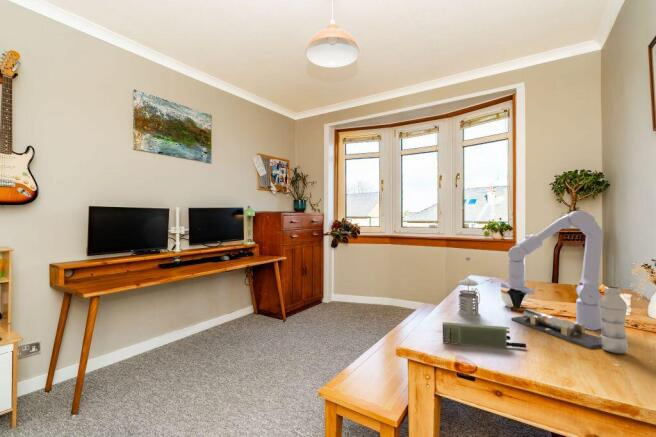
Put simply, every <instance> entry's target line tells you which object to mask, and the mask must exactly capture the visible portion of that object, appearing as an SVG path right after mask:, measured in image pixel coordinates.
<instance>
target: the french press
mask: <svg viewBox="0 0 656 437" xmlns="http://www.w3.org/2000/svg"><path fill="white" fill-rule="evenodd" d="M470 260H471V257H469V256H466V257H465V261H470ZM457 283H458V285H462V286H467V289H462V290H459V294H458V300H459V301H458V309H459V310H458V311H457V312H456V315H457V316H459V317H462V318H466V319H467V318H469V319H479V318H481V317H482V314H481V313H479V305H480V301H481V295H480V291H479V289H477V287H475V286H478V285H479V282H477V281H475V280H473V279H470V278H466V279H465V278H464V279H461V280H459V281H458V282H457ZM471 286H472V287H475V288H471V290H469V287H471Z"/></svg>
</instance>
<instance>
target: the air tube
mask: <svg viewBox="0 0 656 437" xmlns="http://www.w3.org/2000/svg"><path fill="white" fill-rule="evenodd" d="M522 314H523V315H522V316H524V317H525V318H526V319H529V320H530V316H533V315H534V316H537V317H538V323H541V324H544V325H546V326H549V327H552V328H555V329H558V330H561V326H564V325H565V326H568V327H570V334H574V333H575V332H576V331H577V325H576V324H575V323H573V322H574V321H569V320H566V319H563V318H559V317H557V316H554V315H552V316H550V315H551V314H550V315H547V314H548V313H543V312H540V311H537V310H534V309H530V308H525V309H524V310H523V313H522Z"/></svg>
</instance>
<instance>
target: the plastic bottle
mask: <svg viewBox="0 0 656 437" xmlns="http://www.w3.org/2000/svg"><path fill="white" fill-rule="evenodd" d="M621 291H622V289H621V287H618V286H613V285H605V286H604V290H603V292H604V293H605V294H604V295H603V296H601V299H600V300H599V308H600V313H601V320H602V321H601V322H602V326H601V329H600V335H599V338H600V339H599V342H600V346H601V347H600V348H602V350H605V351H607V352H610V353H613V354H626V353H627V352H628V350H629V349H628V348H629V342H628V338H627V334H626V333H627V332H626V317H627V316H626V315H627V310H628V305H627V304H626V303H627V302H626V301H625V300H624V299H623V298H622V296H621V294H622V292H621Z"/></svg>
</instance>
